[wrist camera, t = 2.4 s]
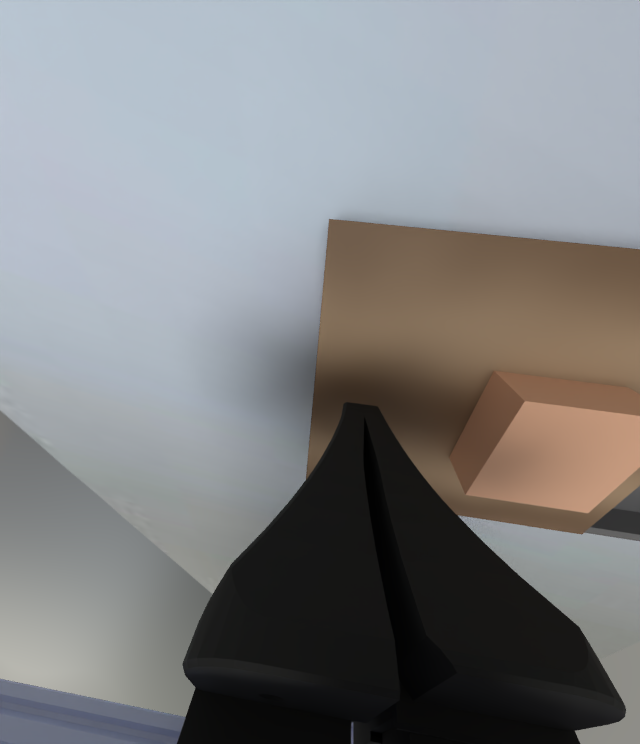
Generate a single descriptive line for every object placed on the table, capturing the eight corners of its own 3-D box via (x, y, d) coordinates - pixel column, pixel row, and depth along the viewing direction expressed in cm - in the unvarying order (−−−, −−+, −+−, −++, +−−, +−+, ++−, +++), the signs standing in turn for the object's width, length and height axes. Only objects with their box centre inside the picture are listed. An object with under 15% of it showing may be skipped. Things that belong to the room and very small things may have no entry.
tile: (553, 472, 12) (587, 513, 10) (449, 457, 12) (465, 495, 10) (628, 387, 9) (689, 422, 8) (493, 370, 10) (525, 401, 8)
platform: (545, 486, 17) (581, 534, 14) (311, 452, 17) (304, 491, 15) (745, 262, 10) (892, 274, 7) (334, 221, 10) (329, 219, 8)
